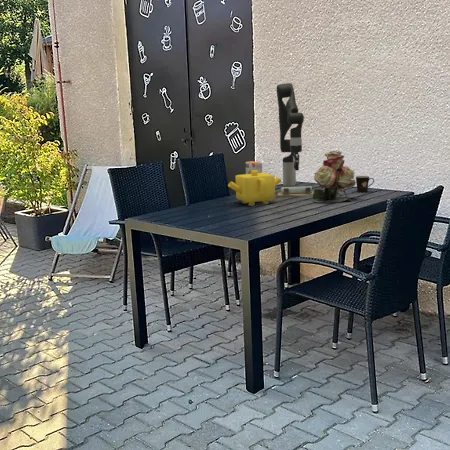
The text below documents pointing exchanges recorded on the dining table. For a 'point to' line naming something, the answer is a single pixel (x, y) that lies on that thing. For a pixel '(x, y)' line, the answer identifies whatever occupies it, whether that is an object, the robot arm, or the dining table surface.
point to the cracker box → (253, 167)
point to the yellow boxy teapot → (255, 187)
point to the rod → (296, 189)
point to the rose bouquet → (333, 179)
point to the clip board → (286, 193)
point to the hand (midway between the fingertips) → (296, 169)
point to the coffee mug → (363, 183)
